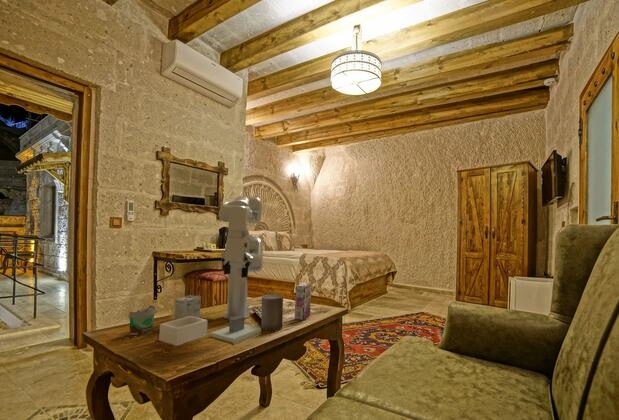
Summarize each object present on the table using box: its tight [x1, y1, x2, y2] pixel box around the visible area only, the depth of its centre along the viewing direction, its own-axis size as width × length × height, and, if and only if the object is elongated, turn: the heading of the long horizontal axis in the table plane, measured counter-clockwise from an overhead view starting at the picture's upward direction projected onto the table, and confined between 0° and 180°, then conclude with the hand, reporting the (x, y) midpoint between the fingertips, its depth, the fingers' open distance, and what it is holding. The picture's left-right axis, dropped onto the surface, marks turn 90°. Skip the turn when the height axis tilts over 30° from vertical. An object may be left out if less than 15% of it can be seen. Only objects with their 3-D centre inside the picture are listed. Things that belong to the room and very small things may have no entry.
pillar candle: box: [260, 293, 284, 331], centre depth 142 cm, size 10×10×15 cm
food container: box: [128, 305, 157, 336], centre depth 129 cm, size 12×6×10 cm, turn 168°
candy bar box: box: [294, 282, 312, 321], centre depth 160 cm, size 11×5×16 cm, turn 162°
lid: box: [210, 316, 262, 346], centre depth 129 cm, size 16×12×8 cm
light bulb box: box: [173, 294, 202, 320], centre depth 149 cm, size 11×7×11 cm, turn 162°
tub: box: [158, 316, 208, 347], centre depth 123 cm, size 14×10×7 cm
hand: (235, 275), depth 133 cm, fingers open, 9 cm apart
